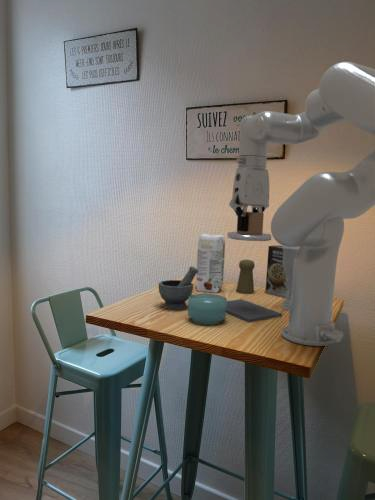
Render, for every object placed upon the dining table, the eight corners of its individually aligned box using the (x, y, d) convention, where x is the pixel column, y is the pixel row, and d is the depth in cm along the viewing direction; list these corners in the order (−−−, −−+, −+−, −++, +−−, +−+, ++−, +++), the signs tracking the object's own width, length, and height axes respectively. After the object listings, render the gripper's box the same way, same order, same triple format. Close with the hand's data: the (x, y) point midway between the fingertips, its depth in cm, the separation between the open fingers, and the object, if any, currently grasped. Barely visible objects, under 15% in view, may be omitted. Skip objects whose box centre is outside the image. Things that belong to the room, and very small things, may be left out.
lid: (280, 240, 118) (282, 213, 117) (248, 241, 111) (249, 213, 110) (250, 235, 127) (251, 210, 126) (218, 236, 120) (219, 210, 119)
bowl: (233, 323, 112) (234, 300, 111) (202, 328, 106) (203, 305, 105) (210, 313, 120) (211, 292, 119) (180, 318, 114) (181, 296, 113)
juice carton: (219, 294, 142) (222, 236, 139) (194, 291, 144) (196, 235, 142) (223, 289, 149) (226, 234, 146) (199, 286, 151) (202, 233, 149)
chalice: (282, 303, 134) (286, 245, 131) (303, 306, 130) (308, 247, 128) (274, 308, 127) (278, 248, 125) (297, 312, 124) (302, 250, 121)
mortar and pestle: (157, 310, 120) (159, 268, 118) (158, 302, 129) (159, 262, 127) (198, 311, 120) (199, 269, 119) (195, 303, 130) (197, 263, 128)
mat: (281, 316, 119) (281, 313, 119) (249, 322, 113) (249, 319, 112) (241, 301, 133) (241, 299, 133) (210, 306, 127) (210, 303, 126)
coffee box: (264, 292, 146) (267, 245, 144) (275, 290, 150) (278, 244, 148) (286, 298, 140) (290, 249, 137) (298, 295, 144) (301, 248, 142)
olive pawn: (253, 294, 143) (255, 262, 141) (235, 293, 144) (237, 260, 143) (254, 290, 149) (256, 259, 147) (237, 289, 150) (238, 258, 149)
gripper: (238, 161, 109) (234, 233, 111) (283, 165, 118) (279, 231, 121) (219, 162, 115) (216, 230, 118) (264, 165, 125) (260, 228, 127)
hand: (248, 230), depth 119 cm, fingers closed on lid, 4 cm apart
